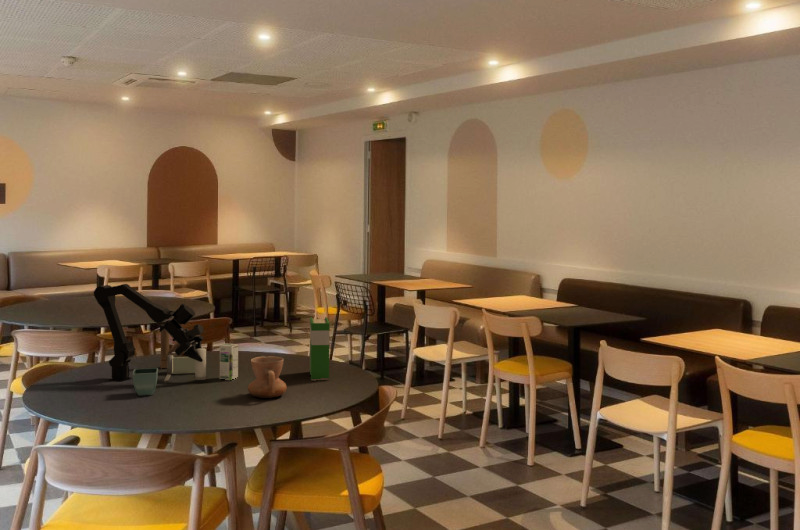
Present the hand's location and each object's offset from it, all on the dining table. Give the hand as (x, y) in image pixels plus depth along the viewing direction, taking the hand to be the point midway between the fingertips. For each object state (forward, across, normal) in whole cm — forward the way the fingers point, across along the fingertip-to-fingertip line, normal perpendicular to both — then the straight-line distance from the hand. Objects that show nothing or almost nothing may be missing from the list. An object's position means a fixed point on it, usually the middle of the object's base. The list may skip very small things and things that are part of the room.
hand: (204, 360), depth 304 cm
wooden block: (-9, +25, +23) cm, 35 cm away
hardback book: (+38, +17, -25) cm, 48 cm away
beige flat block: (-3, +14, +15) cm, 21 cm away
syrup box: (+12, +7, +1) cm, 14 cm away
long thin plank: (-6, +8, +19) cm, 22 cm away
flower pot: (-4, -22, +17) cm, 28 cm away
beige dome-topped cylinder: (+4, 0, +6) cm, 8 cm away
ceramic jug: (+28, -20, -16) cm, 38 cm away
